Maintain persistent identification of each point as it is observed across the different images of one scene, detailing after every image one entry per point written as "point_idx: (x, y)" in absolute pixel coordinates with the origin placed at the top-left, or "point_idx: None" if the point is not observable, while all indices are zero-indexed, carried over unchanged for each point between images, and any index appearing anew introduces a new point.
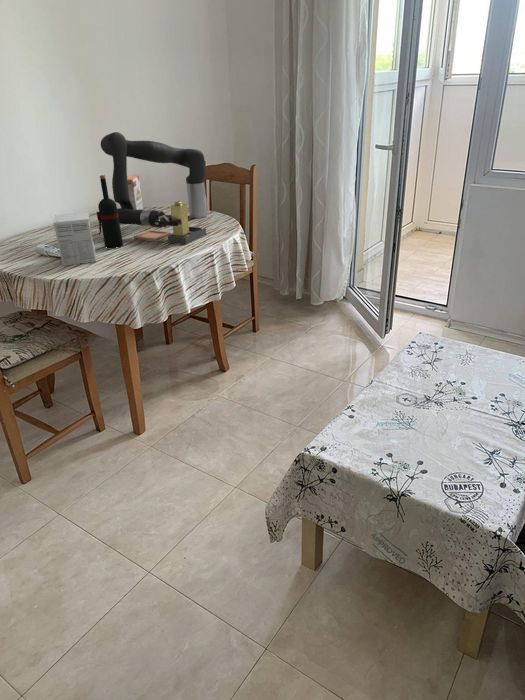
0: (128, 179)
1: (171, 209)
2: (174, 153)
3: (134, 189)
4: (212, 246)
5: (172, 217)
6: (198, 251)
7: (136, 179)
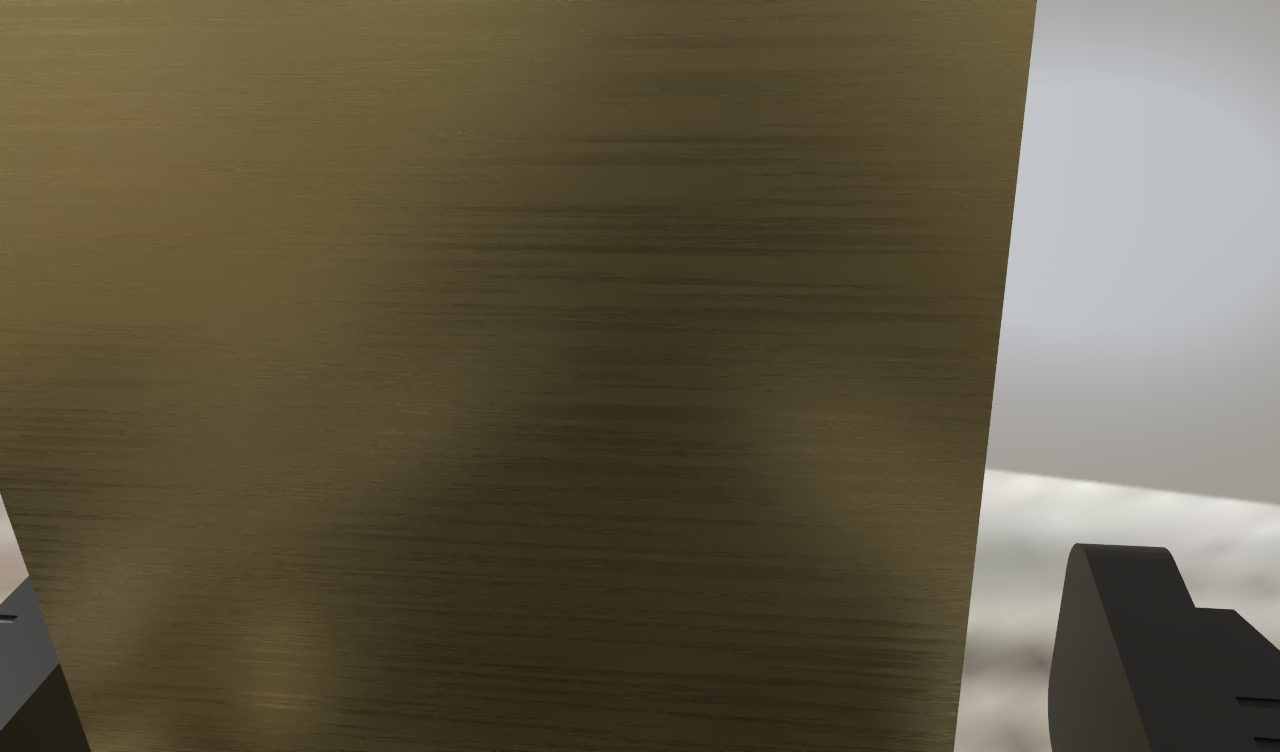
0: None
1: (1005, 136)
2: None
3: None
4: None
5: (940, 739)
6: (1225, 561)
7: None
